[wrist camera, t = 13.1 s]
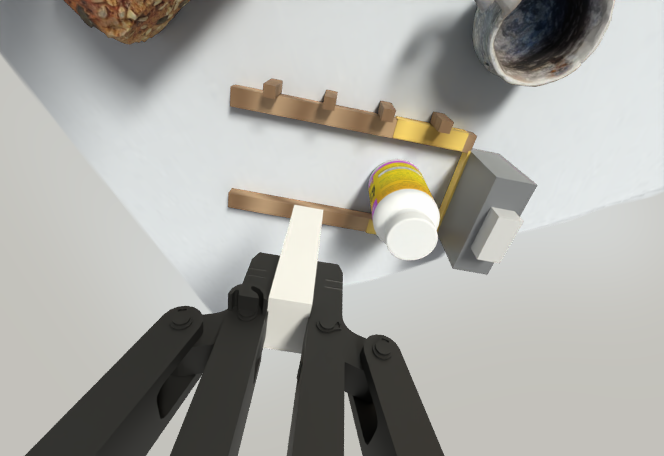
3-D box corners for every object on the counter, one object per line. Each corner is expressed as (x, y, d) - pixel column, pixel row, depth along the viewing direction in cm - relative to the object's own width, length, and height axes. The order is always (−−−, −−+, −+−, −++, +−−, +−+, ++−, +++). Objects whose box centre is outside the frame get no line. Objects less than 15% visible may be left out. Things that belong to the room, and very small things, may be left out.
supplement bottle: (362, 164, 40) (368, 216, 29) (417, 151, 39) (446, 200, 28) (373, 211, 43) (382, 274, 32) (424, 200, 42) (452, 261, 31)
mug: (525, 90, 35) (584, 109, 26) (416, 51, 33) (440, 58, 25) (588, -19, 30) (685, -39, 21) (462, -70, 28) (513, -113, 20)
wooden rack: (231, 202, 43) (221, 217, 40) (235, 70, 35) (222, 75, 31) (429, 238, 45) (436, 255, 41) (477, 120, 36) (490, 129, 33)
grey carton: (432, 226, 44) (455, 280, 34) (464, 146, 38) (502, 185, 29) (462, 231, 44) (494, 286, 35) (499, 153, 38) (548, 194, 29)
